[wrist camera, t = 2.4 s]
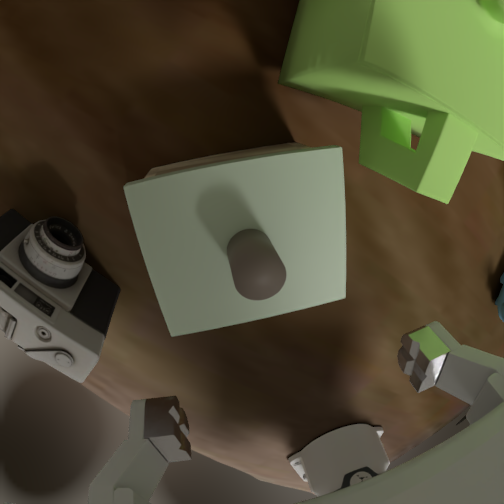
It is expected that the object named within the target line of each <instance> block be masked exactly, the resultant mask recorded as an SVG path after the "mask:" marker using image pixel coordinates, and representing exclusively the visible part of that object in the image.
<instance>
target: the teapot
mask: <svg viewBox="0 0 504 504" xmlns="http://www.w3.org/2000/svg"><path fill="white" fill-rule="evenodd" d="M500 283H502V284H503V286H502V288H501V291H500V294H499V297H498V298H497V299H496V302H495V305H498V313H499V317H500V319H501V320H502V321H503V322H504V273H503V274H502V276H501V278H500Z"/></svg>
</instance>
